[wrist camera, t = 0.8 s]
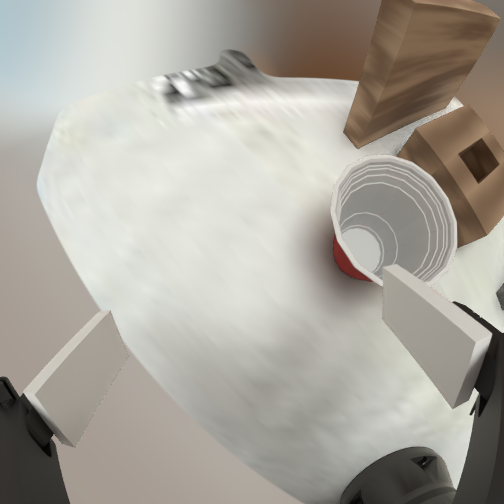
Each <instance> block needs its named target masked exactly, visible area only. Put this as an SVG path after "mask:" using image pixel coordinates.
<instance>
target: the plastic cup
mask: <svg viewBox="0 0 504 504" xmlns="http://www.w3.org/2000/svg"><path fill="white" fill-rule="evenodd" d="M330 213H331V217H332V221H333V225H334V229H335V237H334V243H333V244H334V247H333V252H334V257H335V261H336V263H337V264H338V266H339V268H340V269H341V270H342V271H343V272H344V273H346V274H347V275H348V276H350V277H353V278H357V279H361V280H365V281H370V282H375V283H376V284H378V285H379V286H383V267H385V266H390V265H395V264H397V265H399V266H400V267H402V268H403V269H405V270H406V271H408V272H409V273H411V274H412V275H414V276H415V277H417V278H418V279H420V280H421V281H423V282H424V283H426V284H427V285H428V286H432V285H433V284H434V283H436V282H437V281H438V280H439V279H440V278H441V277H442V276H443V275H444V274H445V273H446V272H447V271H448V270H449V268H450V265H451V263H452V260H453V258H454V255H455V252H456V249H457V221H456V218H455V216H454V213H453V210H452V207H451V204H450V202H449V199H448V197H447V196H446V194H445V193H444V191H443V190H442V189H441V187H440V186H439V185H438V183H437V182H436V181H435V179H434V178H433V177H432V176H431V175H429V174H428V173H427V172H425V171H424V170H423V169H421V168H420V167H419V166H417V165H416V164H414V163H413V162H410V161H408V160H405V159H402V158H399V157H396V156H393V155H369V156H365V157H364V158H362V159H360V160H358V161H356V162H354V163H352V164H350V165H348V166H347V167H346V169H345V170H344V171H343V173H342V174H341V176H340V177H339V179H338V180H337V181H336V183H335V184H334V189H333V195H332V202H331V208H330Z"/></svg>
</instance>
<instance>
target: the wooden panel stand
mask: <svg viewBox="0 0 504 504" xmlns="http://www.w3.org/2000/svg"><path fill="white" fill-rule="evenodd" d="M500 20H501V18H499V17H498V16H497V15H496V14H494V13H493V12H492V11H491V10H490V9H489V8H487V7H486V6H485V5H483V4H480V3H477V2H474V1H471V0H382V2H381V6H380V10H379V14H378V18H377V22H376V26H375V30H374V33H373V37H372V40H371V45H370V48H369V51H368V55H367V58H366V62H365V65H364V68H363V72H362V75H361V79H360V82H359V85H358V88H357V91H356V95H355V98H354V101H353V104H352V107H351V110H350V113H349V116H348V120H347V123H346V126H345V129H344V133H345V135H346V136H347V137H348V138H349V139H350V140H351V142H352V143H353V144H354V145H355V146H356V148H357V149H358V148H360V147H362V146H364V145H366V144H368V143H370V142H372V141H374V140H377V139H379V138H381V137H383V136H385V135H387V134H389V133H391V132H393V131H395V130H398V129H400V128H402V127H404V126H406V125H408V124H411V123H413V122H415V121H417V120H419V119H422V118H424V117H426V116H428V115H431V114H433V113H435V112H437V111H440V110H442V109H444V108H446V107H447V105H448V104H449V103H450V101H451V100H452V98H453V97H454V95H455V94H456V92H457V91H458V89H459V88H460V86H461V85H462V83H463V81H464V80H465V79H466V77H467V76H468V74H469V73H470V71H471V70H472V68H473V66H474V65H475V63H476V62H477V60H478V58H479V57H480V55H481V53H482V52H483V50H484V48H485V47H486V45H487V43H488V42H489V40H490V38H491V37H492V35H493V33H494V31H495V29H496V28H497V26H498V24H499V22H500ZM396 157H399V158H402V159H405V160H408V161H410V162H413V163H414V164H416V165H417V166H419V167H420V168H421V169H423V170H424V171H425V172H427V173H428V174H429V175H431V176H432V177H433V178H434V179H435V181H436V182H437V183H438V185H439V186H440V187H441V189H442V190H443V191H444V193H445V194H446V196H447V197H448V199H449V202H450V204H451V207H452V210H453V213H454V216H455V218H456V221H457V248H459V247H461V246H464V245H466V244H468V243H471V242H473V241H475V240H478V239H480V238H482V237H485V236H487V235H488V234H489V233H490V232H491V230H492V229H493V228H494V227H495V226H496V225H497V223H498V222H499V221H500V220H501V219H502V217H503V216H504V151H503V149H502V148H501V146H500V145H499V143H498V142H497V140H496V139H495V137H494V136H493V135H492V133H491V132H490V131H489V129H488V128H487V127H486V125H485V124H484V123H483V121H482V120H481V119H480V118H479V116H478V115H477V114H476V113H475V112H474V110H473V109H472V108H471V107H470V106H469V105H468V104H467V105H465V106H463V107H461V108H459V109H456V110H454V111H452V112H450V113H448V114H445V115H443V116H441V117H439V118H437V119H435V120H433V121H431V122H428V123H426V124H424V125H422V126H420V127H418V128H416V129H415V130H414V132H413V133H412V135H411V136H410V138H409V139H408V141H407V142H406V144H405V145H404V147H403V148H402V149H401V151H400V152H399V154H398V155H397V156H396Z"/></svg>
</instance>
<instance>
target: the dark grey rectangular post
mask: <svg viewBox="0 0 504 504" xmlns="http://www.w3.org/2000/svg"><path fill="white" fill-rule="evenodd" d="M496 294H497V296H498V299H499V302H500V305H501V308H502V310H504V284H503V285H502V286H501V288H500V289H499V290H498V291H497V293H496Z"/></svg>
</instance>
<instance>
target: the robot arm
mask: <svg viewBox="0 0 504 504" xmlns="http://www.w3.org/2000/svg"><path fill="white" fill-rule="evenodd" d="M382 320H383V321H384V322H385V323H386V324H387V326H388V327H389V328H390V329H391V330H392V332H393V333H394V334H395V335H396V336H397V338H398V339H399V340H400V341H401V343H402V344H403V345H404V346H405V348H406V349H407V350H408V351H409V353H410V354H411V355H412V356H413V358H414V359H415V360H416V361H417V363H418V364H419V365H420V366H421V368H422V369H423V370H424V372H425V373H426V374H427V376H428V377H429V378H430V379H431V381H432V382H433V383H434V385H435V386H436V387H437V389H438V390H439V391H440V393H441V394H442V395H443V397H444V398H445V400H446V401H447V402H448V404H449V405H450V406H451V408H452V409H453V408H455V407H457V406H459V405H461V404H463V403H465V402H466V401H468V400H469V398H470V396H471V394H472V391H473V389H474V387H475V389H476V390H477V391H478V392H479V395H478V397H477V399H476V401H475V403H474V405H473V408H472V410H471V412H470V415H472V414H473V412H474V410H475V415H474V421H473V428H472V433H471V438H470V443H469V448H468V452H467V456H466V460H465V464H464V468H463V472H462V475H461V478H460V482H459V485H458V488H457V490H456V489H455V488H454V487H453V484H452V481H451V478H450V475H449V472H448V469H447V466H446V463H445V461H444V460H443V459H442V457H440V456H439V455H438V454H437V453H436V452H434V451H433V450H431V449H429V448H425V447H412V448H407V449H403V450H400V451H397V452H394V453H392V454H390V455H388V456H386V457H384V458H382V459H380V460H378V461H377V462H375V463H373V464H372V465H371V466H369V467H368V468H366V469H365V470H364V471H363V472H361V473H360V474H359V475H358V476H357V477H356V478H355V479H354V480H353V481H352V482H351V483H350V485H349V486H348V487H347V489H346V490H345V492H344V494H343V496H342V498H341V502H340V504H504V333H501V332H500V331H499V330H497V329H496V328H495V327H494V326H492V325H491V324H490V323H488V322H487V321H486V320H484V319H483V318H482V317H481V318H480V316H479V315H478V314H476V313H475V312H474V313H473V311H472V310H471V309H470V308H468V307H467V306H465V305H463V304H460V303H458V302H455V301H454V302H451V301H449V300H448V299H447V298H445V297H444V296H442V295H441V294H440V293H438V292H437V291H435V290H434V289H433V288H431V287H430V286H428V285H427V284H426V283H424V282H423V281H421V280H420V279H418V278H417V277H415V276H414V275H412V274H411V273H409V272H408V271H406V270H405V269H403V268H402V267H400V266H399V265H397V264H395V265H390V266H385V267H383V308H382ZM128 357H129V354H128V352H127V350H126V348H125V345H124V343H123V341H122V338H121V336H120V333H119V331H118V329H117V326H116V324H115V321H114V318H113V316H112V313H111V311H100V312H98V313H97V314H96V315H95V316H94V317H93V318H92V319H91V320H90V321H89V322H88V323H87V324H86V325H85V326H84V327H83V328H82V329H81V330H80V331H79V332H78V333H77V334H76V335H75V336H74V337H73V338H72V339H71V340H70V341H69V342H68V343H67V344H66V345H65V346H64V347H63V348H62V349H61V350H60V351H59V353H57V355H56V356H55V357H54V358H53V359H52V360H51V361H50V362H49V363H48V364H47V365H46V366H45V367H44V368H43V370H42V371H41V372H40V373H39V374H38V375H37V376H36V377H35V379H34V380H33V381H32V382H31V383H30V384H29V385H28V387H26V389H25V390H24V391H23V392H24V393H23V394H22V396H21V397H19V395H18V394H17V392H16V391H15V389H14V387H13V386H12V384H11V383H10V381H9V379H8V378H7V377H0V504H70V502H69V499H68V495H67V492H66V488H65V485H64V481H63V478H62V473H61V469H60V465H59V460H58V455H57V451H56V445H55V443H54V441H53V440H52V439H51V437H52V436H53V434H55V436H56V437H57V438H58V439H59V441H60V442H61V443H62V444H65V445H68V446H72V447H76V445H77V444H78V442H79V440H80V438H81V436H82V434H83V433H84V431H85V429H86V427H87V426H88V424H89V422H90V420H91V419H92V417H93V415H94V413H95V412H96V410H97V408H98V406H99V405H100V403H101V401H102V400H103V398H104V396H105V395H106V393H107V391H108V389H109V388H110V386H111V385H112V383H113V381H114V380H115V378H116V376H117V374H118V373H119V371H120V370H121V368H122V367H123V365H124V363H125V362H126V360H127V359H128Z"/></svg>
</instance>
